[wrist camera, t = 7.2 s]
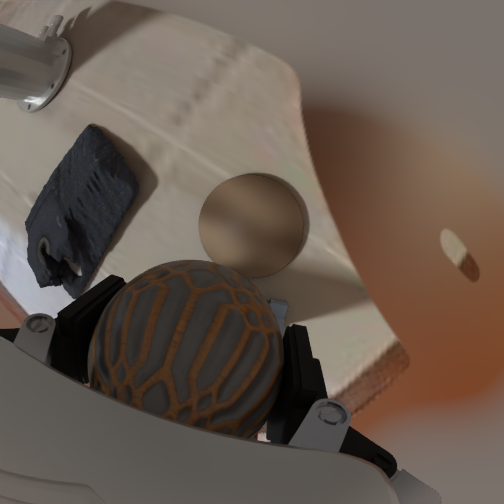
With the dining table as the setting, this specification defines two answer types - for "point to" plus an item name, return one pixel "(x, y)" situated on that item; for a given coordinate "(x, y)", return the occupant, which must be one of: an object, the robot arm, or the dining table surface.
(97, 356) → the vase
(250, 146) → the dining table surface
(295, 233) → the coaster
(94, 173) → the dark slate chunk
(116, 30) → the dining table surface
